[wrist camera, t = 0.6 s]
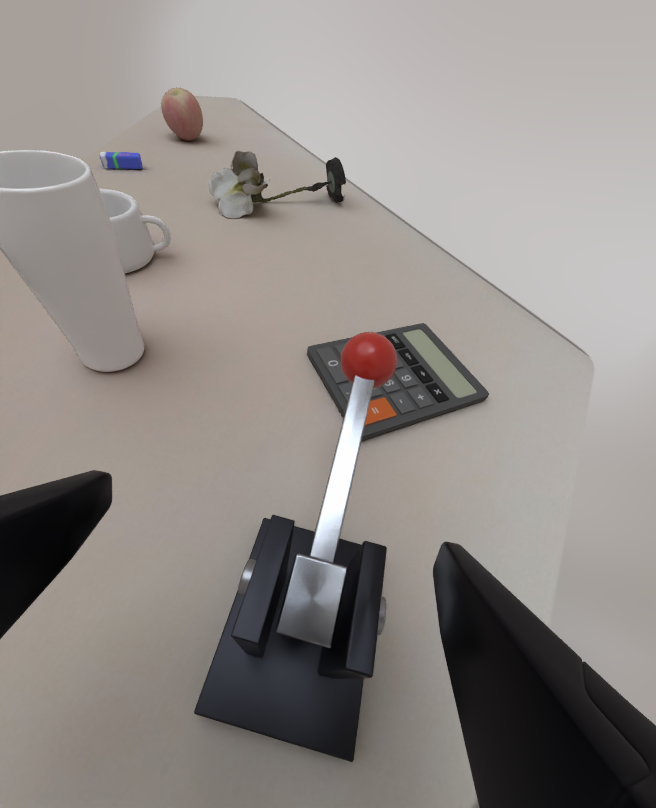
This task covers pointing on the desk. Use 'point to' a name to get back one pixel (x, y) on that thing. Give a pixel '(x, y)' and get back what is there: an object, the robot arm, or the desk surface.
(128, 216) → the mug
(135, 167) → the eraser
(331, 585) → the lever
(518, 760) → the robot arm
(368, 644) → the switch bracket
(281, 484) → the desk surface
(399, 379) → the calculator
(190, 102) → the apple
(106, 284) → the drinking glass
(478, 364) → the desk surface
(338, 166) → the artificial flower
